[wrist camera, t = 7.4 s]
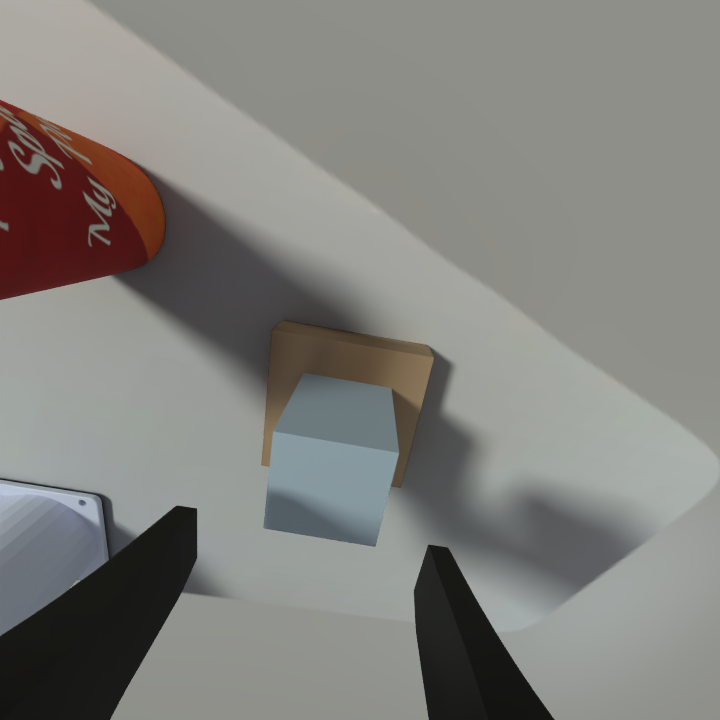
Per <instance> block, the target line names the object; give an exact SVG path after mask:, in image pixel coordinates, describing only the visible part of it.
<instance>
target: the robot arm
mask: <svg viewBox="0 0 720 720" xmlns="http://www.w3.org/2000/svg"><path fill="white" fill-rule="evenodd" d="M196 559H197V509H196V508H190V507H183V506H176V507H174V508H173V509H172V510H170V511H169V512H168V513H167V514H165V515H164V516H163V517H162V518H161V519H159V520H158V521H157V522H156V523H155V524H153V525H152V526H151V527H150V528H148V529H147V530H146V531H145V532H143V533H142V534H141V535H140V536H139V537H137V538H136V539H135V540H134V541H132V542H131V543H130V544H129V545H127V546H126V547H125V548H123V549H122V550H121V551H120V552H118V553H117V554H116V555H114V556H113V557H112V558H111V559H109V557H108V549H107V541H106V533H105V525H104V517H103V509H102V502H101V499H100V498H99V497H98V496H97V495H93V494H87V493H80V492H74V491H68V490H61V489H55V488H49V487H42V486H36V485H30V484H23V483H17V482H11V481H5V480H0V720H110V719H111V716H112V714H113V713H114V711H115V709H116V707H117V705H118V703H119V701H120V700H121V698H122V696H123V694H124V692H125V690H126V688H127V687H128V685H129V683H130V681H131V679H132V678H133V676H134V675H135V673H136V671H137V669H138V668H139V666H140V664H141V662H142V661H143V659H144V657H145V656H146V654H147V652H148V650H149V649H150V647H151V645H152V643H153V642H154V640H155V638H156V637H157V635H158V633H159V631H160V630H161V628H162V626H163V624H164V623H165V621H166V619H167V617H168V616H169V614H170V612H171V610H172V609H173V607H174V605H175V603H176V602H177V600H178V598H179V596H180V594H181V592H182V590H183V588H184V586H185V584H186V582H187V579H188V577H189V575H190V573H191V570H192V568H193V566H194V564H195V561H196ZM77 579H79V580H81V581H80V582H79V583H77V584H76V585H74V586H73V587H72V588H70V587H71V586H72V584H73V583H74V582H75V581H76V580H77ZM69 588H70V589H69ZM68 589H69V590H68ZM414 603H415V623H416V634H417V642H418V649H419V656H420V662H421V670H422V676H423V683H424V689H425V697H426V704H427V710H428V717H429V720H554V718H553V717H552V716H551V714H550V713H549V711H548V710H547V709H546V707H545V706H544V704H543V703H542V702H541V700H540V699H539V698H538V696H537V695H536V694H535V692H534V691H533V689H532V688H531V686H530V685H529V683H528V682H527V680H526V679H525V677H524V676H523V674H522V673H521V671H520V670H519V668H518V667H517V665H516V664H515V662H514V661H513V659H512V657H511V656H510V654H509V653H508V651H507V650H506V648H505V647H504V645H503V643H502V642H501V640H500V639H499V637H498V635H497V634H496V632H495V630H494V629H493V627H492V625H491V624H490V622H489V620H488V619H487V617H486V615H485V614H484V612H483V610H482V608H481V607H480V605H479V603H478V602H477V600H476V598H475V596H474V594H473V593H472V591H471V589H470V587H469V585H468V584H467V582H466V580H465V578H464V576H463V574H462V573H461V571H460V569H459V567H458V565H457V563H456V561H455V559H454V557H453V556H452V554H451V552H450V550H449V549H448V548H447V547H441V546H434V545H428V547H427V550H426V554H425V557H424V560H423V563H422V567H421V570H420V573H419V576H418V579H417V583H416V586H415V589H414Z"/></svg>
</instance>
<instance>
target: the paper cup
mask: <svg viewBox="0 0 720 720" xmlns="http://www.w3.org/2000/svg"><path fill="white" fill-rule="evenodd" d="M165 225H166V223H165V213H164V208H163V204H162V201H161V199H160V196H159V194H158V192H157V190H156V188H155V186H154V185H153V183H152V182H151V180H150V179H149V177H148V176H147V175H146V174H145V173H144V172H143V171H142V170H141V169H140V168H139V167H138V166H137V165H136V164H135V163H133V162H132V161H131V160H129V159H128V158H126V157H125V156H123V155H121V154H119V153H117V152H115V151H114V150H112V149H110V148H108V147H105V146H103V145H101V144H99V143H97V142H95V141H92V140H90V139H88V138H86V137H84V136H81V135H79V134H77V133H74V132H72V131H70V130H68V129H65V128H63V127H61V126H59V125H56V124H54V123H52V122H50V121H47V120H45V119H43V118H41V117H38V116H36V115H34V114H31V113H29V112H27V111H25V110H22V109H20V108H18V107H15V106H13V105H11V104H8V103H6V102H4V101H2V100H0V300H2V299H7V298H11V297H16V296H20V295H25V294H29V293H34V292H38V291H43V290H47V289H52V288H56V287H61V286H65V285H70V284H74V283H79V282H83V281H87V280H92V279H96V278H101V277H105V276H109V275H113V274H117V273H121V272H125V271H128V270H132V269H135V268H138V267H140V266H142V265H144V264H146V263H147V262H149V261H150V260H151V259H152V258H153V257H154V256H155V255H156V254H157V252H158V251H159V249H160V247H161V245H162V242H163V239H164V235H165Z"/></svg>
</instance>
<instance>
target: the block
mask: <svg viewBox="0 0 720 720" xmlns="http://www.w3.org/2000/svg"><path fill="white" fill-rule="evenodd" d="M398 456H399V447H398V439H397V431H396V422H395V414H394V406H393V397H392V389H391V388H388V387H382V386H377V385H371V384H365V383H360V382H354V381H348V380H343V379H337V378H331V377H326V376H320V375H314V374H309V373H303V375H302V377H301V379H300V381H299V383H298V385H297V387H296V389H295V390H294V392H293V394H292V396H291V398H290V400H289V402H288V404H287V406H286V408H285V410H284V411H283V413H282V415H281V417H280V419H279V421H278V423H277V425H276V427H275V429H274V431H273V437H272V447H271V457H270V467H269V477H268V487H267V497H266V507H265V517H264V527H263V528H265V529H271V530H277V531H283V532H289V533H295V534H301V535H307V536H314V537H320V538H326V539H332V540H338V541H344V542H350V543H356V544H362V545H368V546H374V547H375V545H376V542H377V538H378V534H379V530H380V526H381V522H382V518H383V514H384V510H385V506H386V503H387V499H388V495H389V491H390V487H391V483H392V479H393V475H394V471H395V467H396V464H397V460H398Z"/></svg>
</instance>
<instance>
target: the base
mask: <svg viewBox="0 0 720 720" xmlns="http://www.w3.org/2000/svg"><path fill="white" fill-rule="evenodd" d="M433 360H434V356H433V354H432V352H431V350H430V348H429V346H428V345H423V344H417V343H411V342H405V341H400V340H394V339H388V338H382V337H376V336H370V335H364V334H359V333H353V332H347V331H341V330H335V329H329V328H324V327H318V326H312V325H306V324H300V323H294V322H288V321H281V322H280V323H279V324H278V325H277V326H276V327H275V328H274V329H272V336H271V349H270V361H269V374H268V387H267V400H266V413H265V426H264V439H263V451H262V464H261V465H263V466H269V467H270V457H271V447H272V437H273V431H274V429H275V427H276V425H277V423H278V421H279V419H280V417H281V415H282V413H283V411H284V410H285V408H286V406H287V404H288V402H289V400H290V398H291V396H292V394H293V392H294V390H295V389H296V387H297V385H298V383H299V381H300V379H301V377H302V375H303V373H309V374H314V375H320V376H326V377H331V378H337V379H343V380H348V381H354V382H360V383H365V384H371V385H377V386H382V387H388V388H391V389H392V397H393V406H394V414H395V422H396V431H397V439H398V447H399V456H398V460H397V464H396V467H395V471H394V475H393V479H392V483H391V486H392V487H398V488H401V484H402V481H403V477H404V473H405V469H406V465H407V461H408V457H409V453H410V449H411V446H412V442H413V438H414V434H415V430H416V426H417V422H418V418H419V415H420V411H421V407H422V403H423V399H424V395H425V391H426V387H427V383H428V380H429V376H430V372H431V368H432V364H433Z"/></svg>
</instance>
